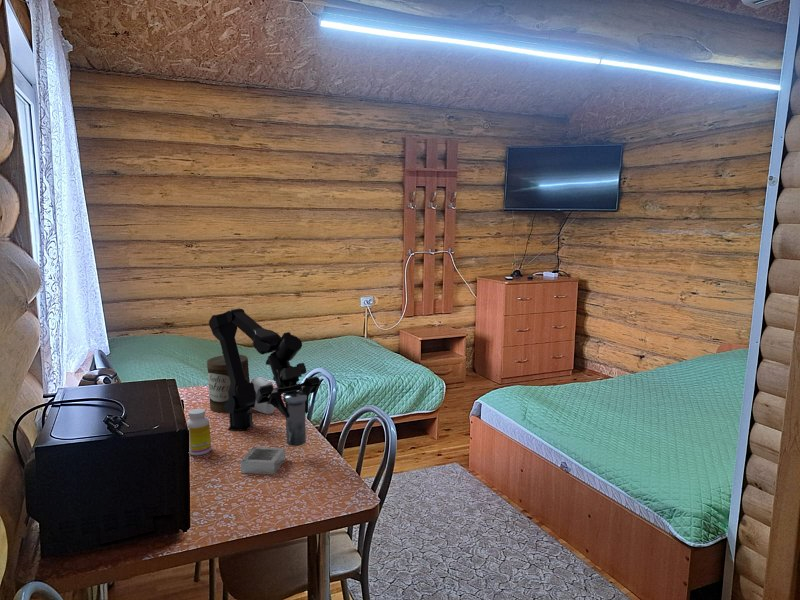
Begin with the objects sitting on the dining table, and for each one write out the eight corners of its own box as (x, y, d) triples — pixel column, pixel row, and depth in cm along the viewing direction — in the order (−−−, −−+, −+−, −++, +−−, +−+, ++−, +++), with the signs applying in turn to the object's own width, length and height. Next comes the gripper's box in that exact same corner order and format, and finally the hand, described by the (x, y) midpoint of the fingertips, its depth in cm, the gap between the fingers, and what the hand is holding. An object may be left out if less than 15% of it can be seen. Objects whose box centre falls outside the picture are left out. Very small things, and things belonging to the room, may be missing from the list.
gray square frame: (241, 473, 157) (240, 461, 157) (253, 458, 167) (253, 446, 166) (274, 474, 156) (274, 462, 156) (285, 459, 166) (284, 448, 165)
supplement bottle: (215, 451, 172) (212, 410, 170) (194, 458, 167) (191, 416, 165) (204, 445, 176) (201, 405, 174) (184, 451, 172) (181, 411, 170)
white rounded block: (250, 409, 208) (248, 376, 206) (259, 406, 211) (258, 374, 209) (266, 415, 201) (264, 382, 199) (276, 412, 204) (274, 379, 203)
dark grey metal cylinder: (281, 445, 163) (280, 398, 161) (289, 436, 170) (287, 390, 167) (303, 447, 162) (302, 399, 160) (310, 437, 169) (309, 391, 166)
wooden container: (201, 410, 208) (197, 352, 204) (228, 397, 221) (224, 343, 218) (233, 415, 202) (230, 355, 199) (259, 402, 216) (256, 346, 212)
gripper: (256, 359, 160) (272, 408, 153) (317, 350, 170) (334, 395, 163) (249, 379, 168) (263, 426, 161) (307, 369, 178) (323, 413, 170)
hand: (297, 414), depth 163 cm, fingers closed on dark grey metal cylinder, 6 cm apart
